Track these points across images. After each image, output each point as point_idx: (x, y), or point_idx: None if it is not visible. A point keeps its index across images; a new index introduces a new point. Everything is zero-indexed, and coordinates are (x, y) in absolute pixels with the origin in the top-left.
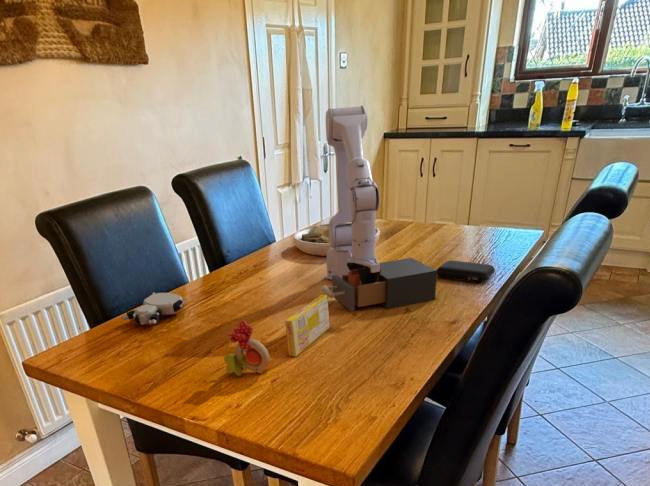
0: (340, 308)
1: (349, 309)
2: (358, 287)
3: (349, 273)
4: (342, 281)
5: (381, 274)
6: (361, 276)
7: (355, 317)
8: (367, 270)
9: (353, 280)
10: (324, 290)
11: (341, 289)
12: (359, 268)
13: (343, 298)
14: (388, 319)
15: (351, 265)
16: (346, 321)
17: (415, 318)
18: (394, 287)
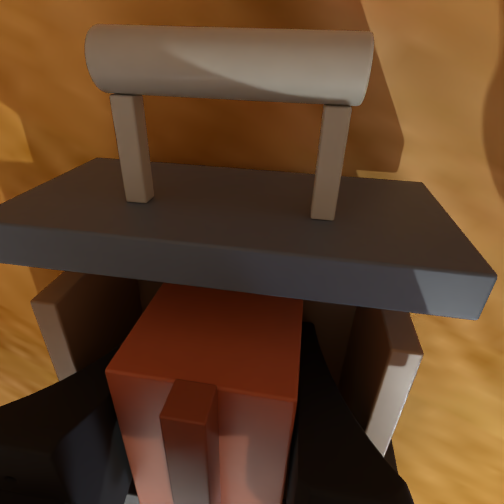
0: (230, 145)
1: (102, 159)
2: (34, 297)
3: (249, 390)
4: (193, 258)
5: (136, 499)
6: (34, 401)
7: (59, 157)
8: (1, 488)
9: (162, 340)
10: (266, 29)
11: (209, 208)
12: (289, 496)
13: (188, 181)
14: (7, 273)
15: (302, 501)
16: (8, 77)
17: (4, 348)
18: None
